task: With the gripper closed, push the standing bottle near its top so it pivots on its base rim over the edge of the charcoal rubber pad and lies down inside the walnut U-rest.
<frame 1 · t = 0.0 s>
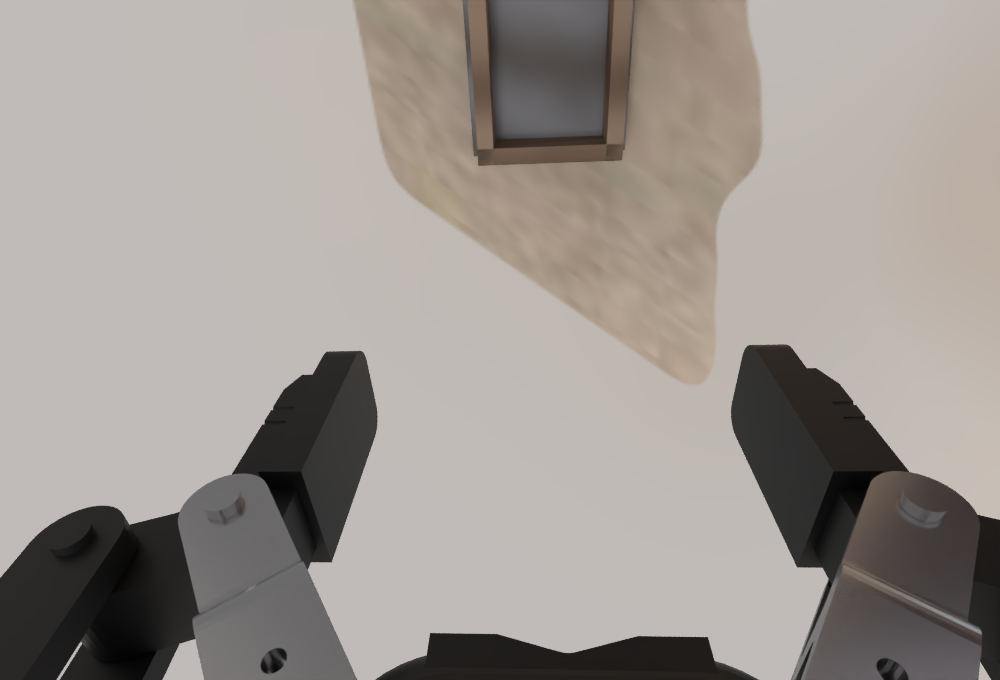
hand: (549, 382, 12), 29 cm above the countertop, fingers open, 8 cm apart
u rest: (547, 50, 34), on the countertop
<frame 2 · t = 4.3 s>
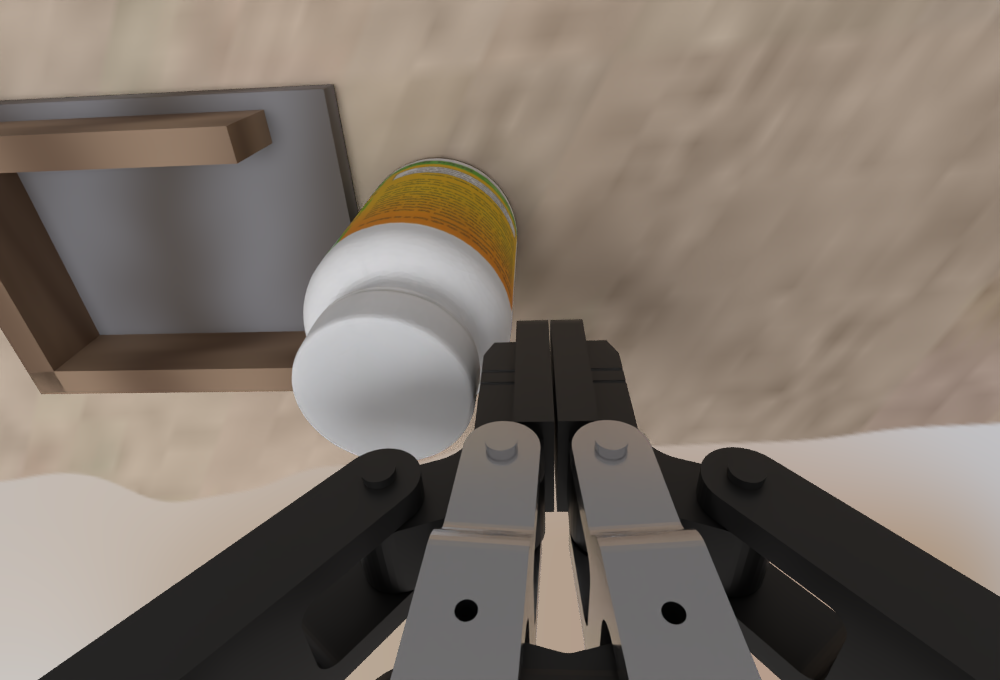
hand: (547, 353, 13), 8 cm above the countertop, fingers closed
supplement bottle: (444, 228, 20), on the countertop, touching gripper
u rest: (204, 238, 21), on the countertop
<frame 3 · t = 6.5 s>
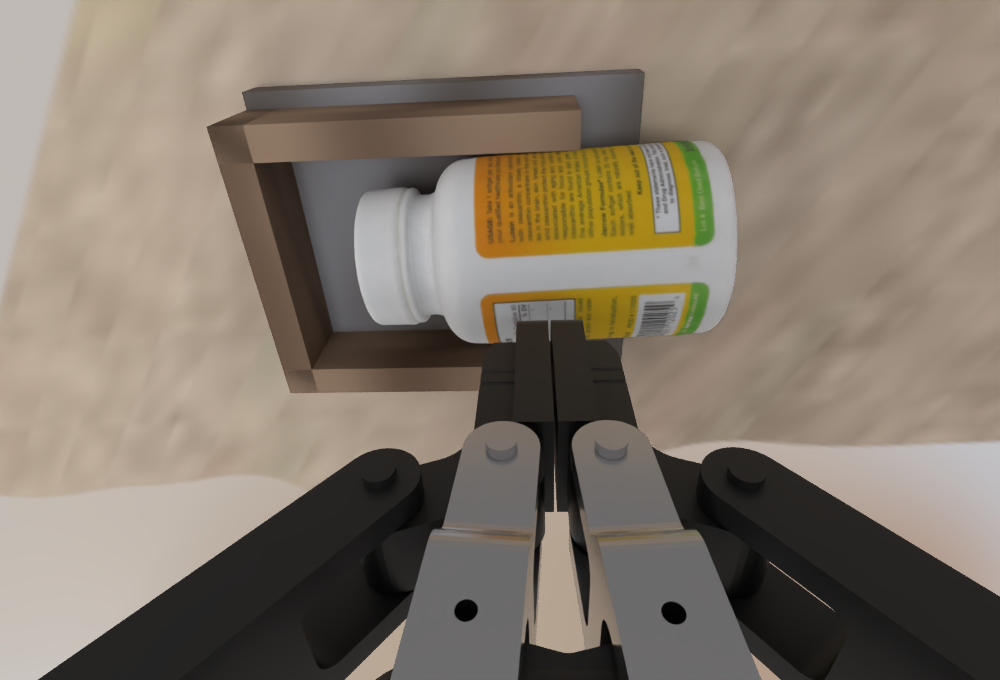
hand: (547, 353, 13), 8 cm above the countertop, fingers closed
supplement bottle: (716, 238, 16), point 4 cm above the countertop, touching u rest
u rest: (457, 231, 20), on the countertop
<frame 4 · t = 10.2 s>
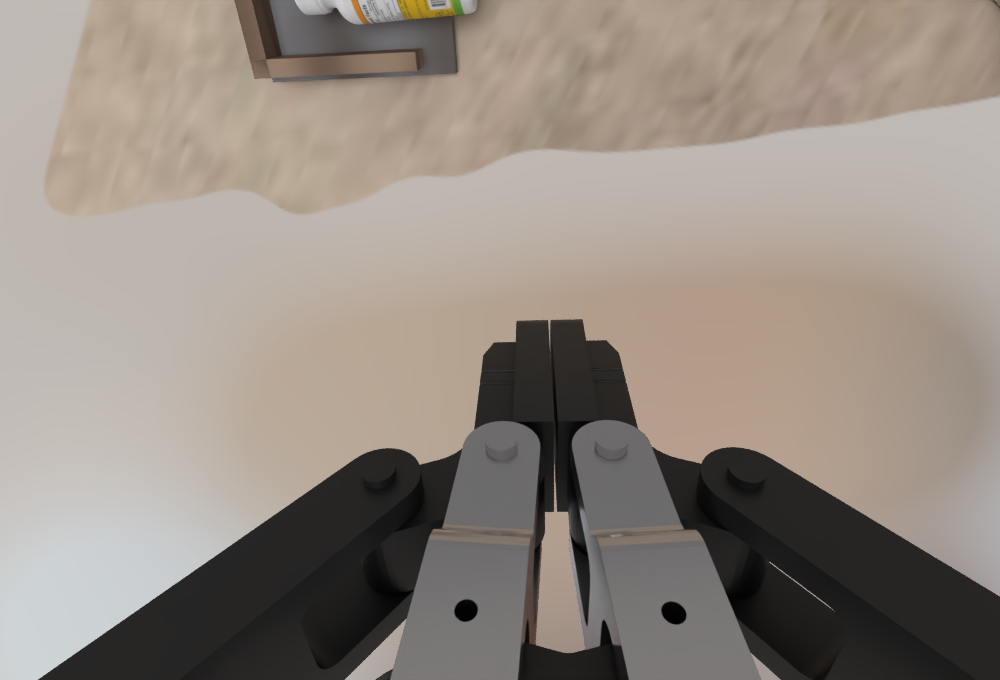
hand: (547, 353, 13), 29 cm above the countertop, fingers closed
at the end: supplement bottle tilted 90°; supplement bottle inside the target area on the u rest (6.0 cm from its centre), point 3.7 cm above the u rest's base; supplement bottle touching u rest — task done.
